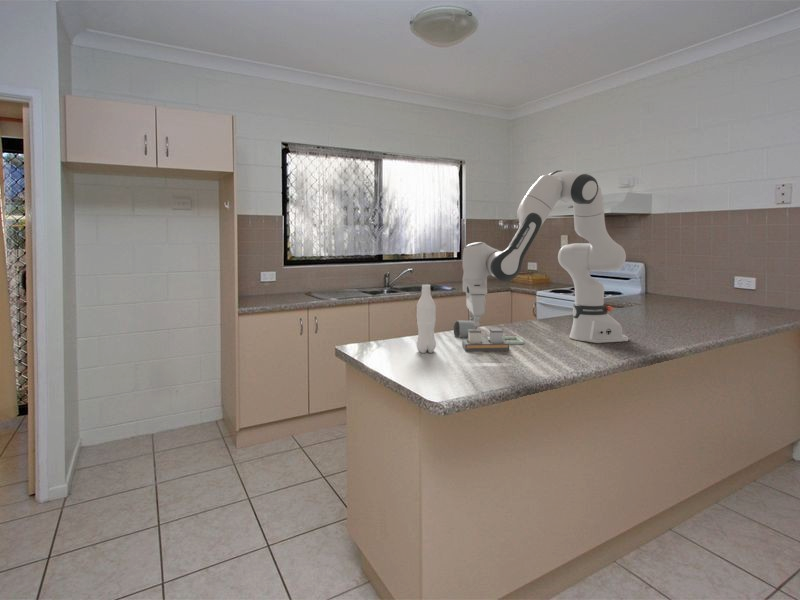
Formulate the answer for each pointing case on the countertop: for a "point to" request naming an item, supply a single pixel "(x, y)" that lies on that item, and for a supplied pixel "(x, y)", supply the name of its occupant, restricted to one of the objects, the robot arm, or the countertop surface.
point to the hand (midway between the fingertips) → (474, 323)
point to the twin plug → (496, 336)
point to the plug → (474, 336)
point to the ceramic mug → (463, 328)
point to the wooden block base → (485, 346)
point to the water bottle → (426, 321)
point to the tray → (513, 338)
